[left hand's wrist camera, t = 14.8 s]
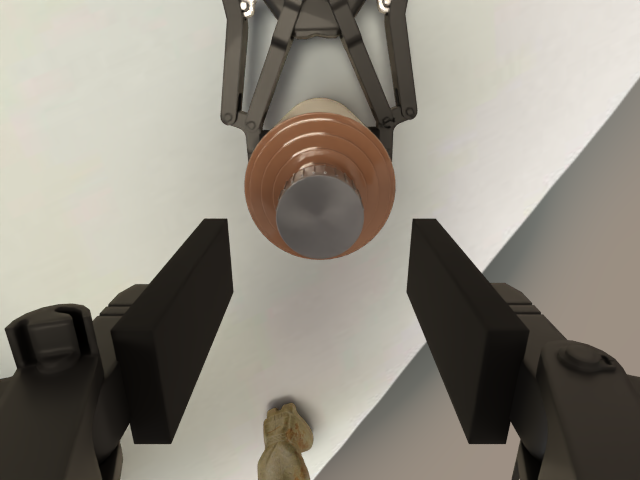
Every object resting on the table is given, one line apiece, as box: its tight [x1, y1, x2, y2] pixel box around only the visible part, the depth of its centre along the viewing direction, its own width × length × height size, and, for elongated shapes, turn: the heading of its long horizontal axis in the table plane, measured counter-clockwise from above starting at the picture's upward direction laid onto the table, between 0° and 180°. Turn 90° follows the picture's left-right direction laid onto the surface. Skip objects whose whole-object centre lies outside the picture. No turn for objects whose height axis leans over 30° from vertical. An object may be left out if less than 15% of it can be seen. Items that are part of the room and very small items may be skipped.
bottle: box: [245, 98, 395, 260], centre depth 29 cm, size 8×8×24 cm
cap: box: [276, 165, 364, 259], centre depth 19 cm, size 4×4×2 cm
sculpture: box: [258, 403, 313, 480], centre depth 46 cm, size 6×7×15 cm
